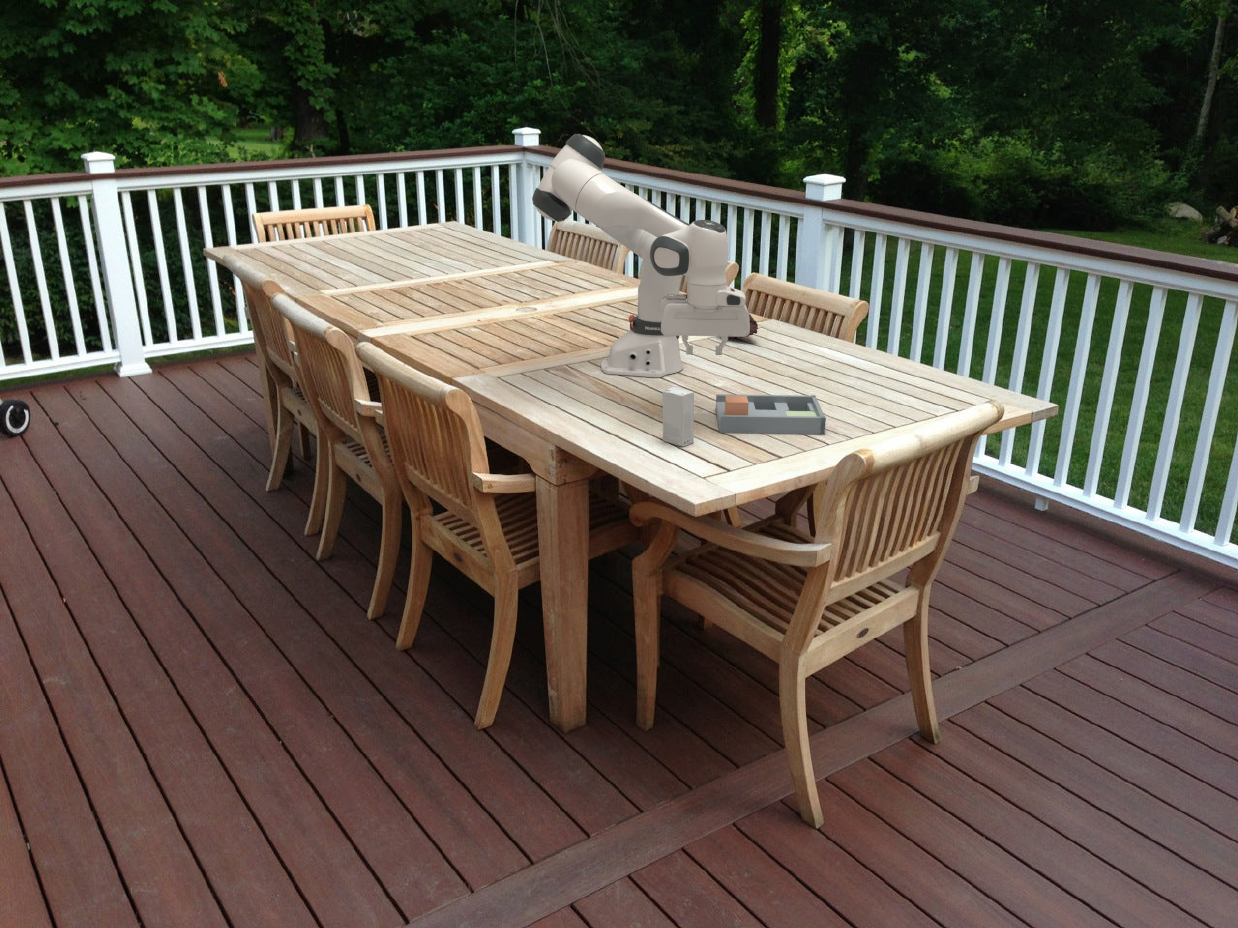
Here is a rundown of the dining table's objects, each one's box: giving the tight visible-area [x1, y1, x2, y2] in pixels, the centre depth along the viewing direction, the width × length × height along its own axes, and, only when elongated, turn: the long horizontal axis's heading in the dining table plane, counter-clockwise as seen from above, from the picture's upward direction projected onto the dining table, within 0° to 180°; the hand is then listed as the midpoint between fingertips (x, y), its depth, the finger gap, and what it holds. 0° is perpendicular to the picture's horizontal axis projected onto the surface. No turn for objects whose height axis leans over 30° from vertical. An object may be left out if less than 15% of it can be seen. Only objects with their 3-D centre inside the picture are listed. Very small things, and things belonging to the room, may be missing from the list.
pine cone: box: [728, 313, 759, 340], centre depth 326 cm, size 18×10×10 cm, turn 32°
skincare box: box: [661, 386, 695, 447], centre depth 243 cm, size 6×4×12 cm
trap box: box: [715, 393, 827, 435], centre depth 258 cm, size 24×17×4 cm
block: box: [725, 396, 749, 415], centre depth 255 cm, size 5×5×4 cm
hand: (704, 354), depth 250 cm, fingers open, 5 cm apart
